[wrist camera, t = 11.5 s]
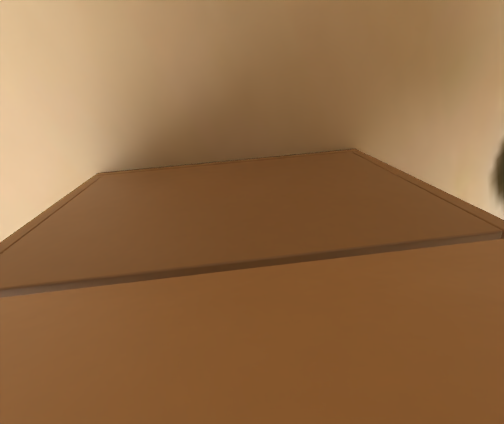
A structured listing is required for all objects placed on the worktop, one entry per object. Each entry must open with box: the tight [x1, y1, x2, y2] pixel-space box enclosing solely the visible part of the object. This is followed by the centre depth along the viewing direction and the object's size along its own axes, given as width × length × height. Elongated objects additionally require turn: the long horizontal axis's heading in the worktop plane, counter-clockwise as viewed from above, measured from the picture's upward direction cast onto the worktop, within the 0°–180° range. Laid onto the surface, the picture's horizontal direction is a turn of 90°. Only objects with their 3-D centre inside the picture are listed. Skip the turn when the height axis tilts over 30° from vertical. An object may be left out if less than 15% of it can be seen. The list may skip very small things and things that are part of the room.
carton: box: [0, 149, 504, 298], centre depth 14 cm, size 17×14×10 cm
